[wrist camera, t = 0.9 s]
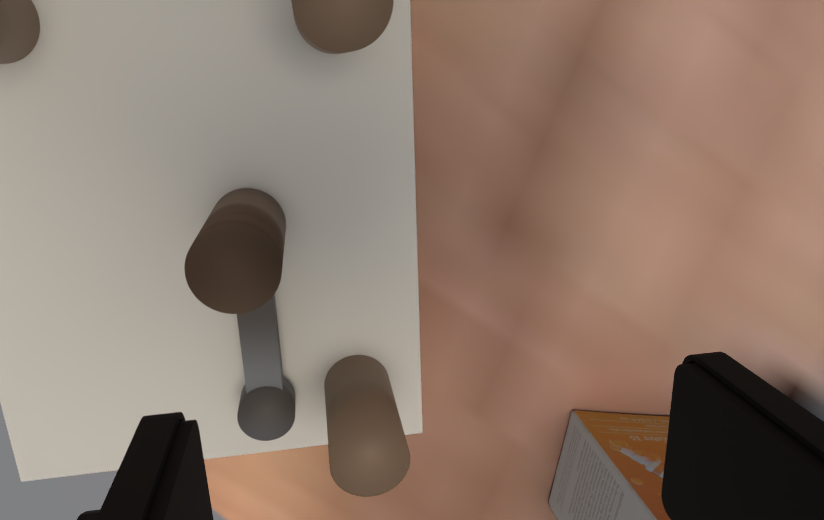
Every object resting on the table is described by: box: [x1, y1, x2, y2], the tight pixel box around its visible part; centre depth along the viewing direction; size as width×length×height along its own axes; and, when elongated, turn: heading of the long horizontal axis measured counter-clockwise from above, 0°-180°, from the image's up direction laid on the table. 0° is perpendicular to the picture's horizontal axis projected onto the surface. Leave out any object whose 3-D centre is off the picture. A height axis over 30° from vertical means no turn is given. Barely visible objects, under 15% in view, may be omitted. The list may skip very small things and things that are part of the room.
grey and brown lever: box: [184, 188, 296, 441], centre depth 24 cm, size 11×3×6 cm, turn 2°
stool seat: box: [0, 0, 422, 497], centre depth 24 cm, size 22×18×8 cm
